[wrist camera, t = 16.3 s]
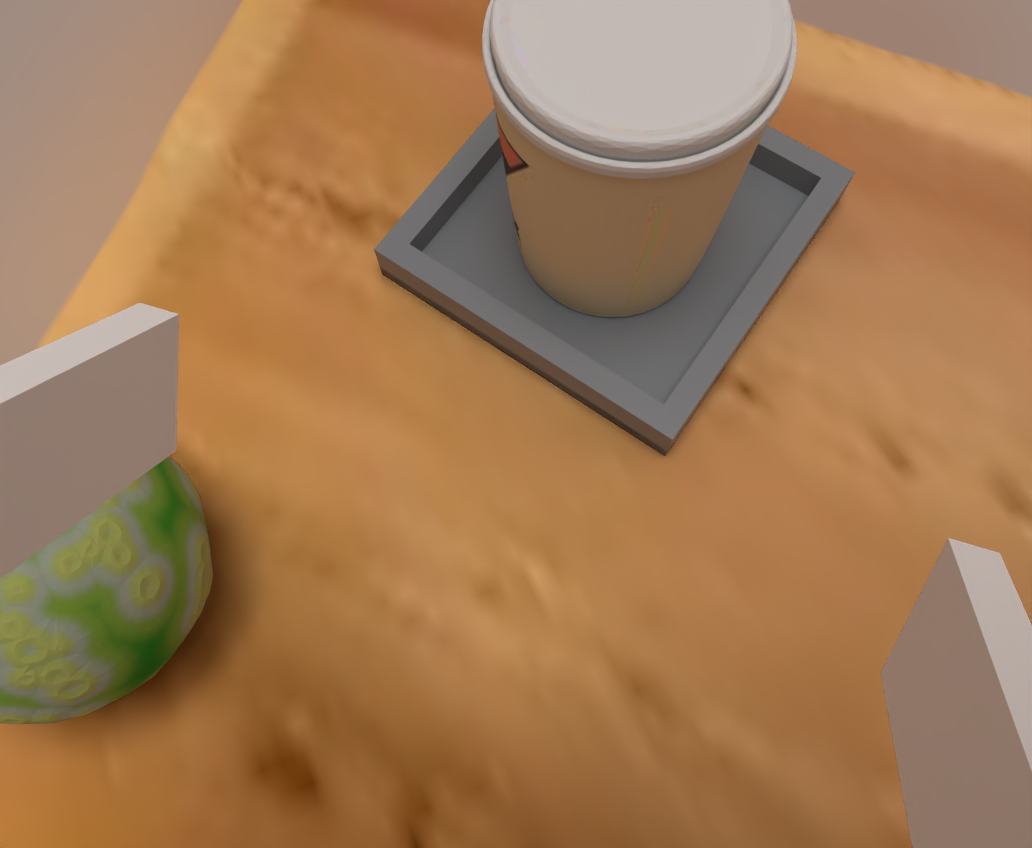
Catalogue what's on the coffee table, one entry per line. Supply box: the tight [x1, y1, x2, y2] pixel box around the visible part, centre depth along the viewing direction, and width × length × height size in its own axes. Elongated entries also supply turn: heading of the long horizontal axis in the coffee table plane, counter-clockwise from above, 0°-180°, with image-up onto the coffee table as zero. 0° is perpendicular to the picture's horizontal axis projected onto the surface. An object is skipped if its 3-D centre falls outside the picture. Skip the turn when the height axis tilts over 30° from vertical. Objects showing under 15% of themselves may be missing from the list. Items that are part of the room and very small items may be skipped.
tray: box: [374, 109, 855, 456], centre depth 37 cm, size 14×14×2 cm
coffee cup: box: [482, 0, 797, 317], centre depth 31 cm, size 9×9×12 cm
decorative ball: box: [0, 456, 213, 724], centre depth 29 cm, size 10×10×10 cm
